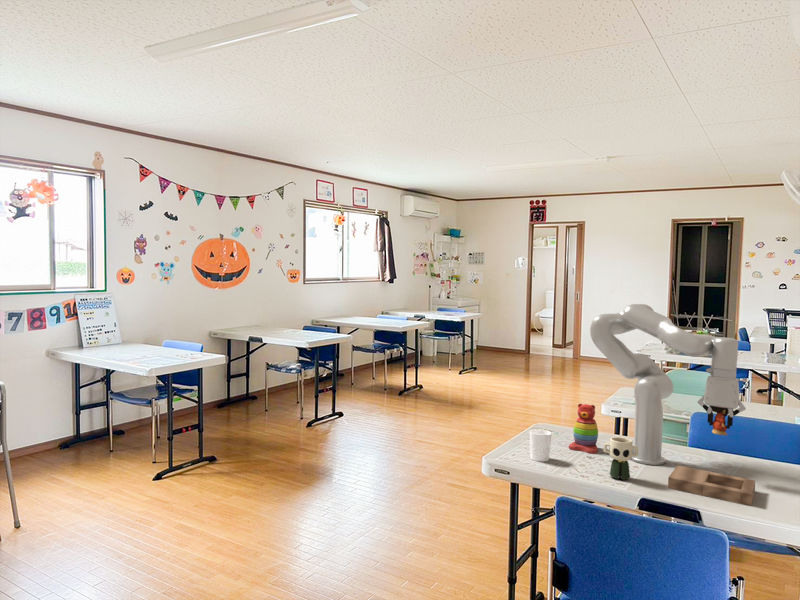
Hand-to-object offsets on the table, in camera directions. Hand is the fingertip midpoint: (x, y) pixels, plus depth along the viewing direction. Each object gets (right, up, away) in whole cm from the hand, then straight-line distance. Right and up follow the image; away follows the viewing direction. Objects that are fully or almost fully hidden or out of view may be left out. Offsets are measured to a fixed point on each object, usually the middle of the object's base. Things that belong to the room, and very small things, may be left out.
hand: (719, 425), depth 195 cm
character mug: (-36, -17, -3) cm, 40 cm away
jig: (-10, -18, -12) cm, 24 cm away
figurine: (0, -3, 0) cm, 3 cm away
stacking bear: (-36, -16, +30) cm, 50 cm away
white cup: (-58, -16, +15) cm, 62 cm away
